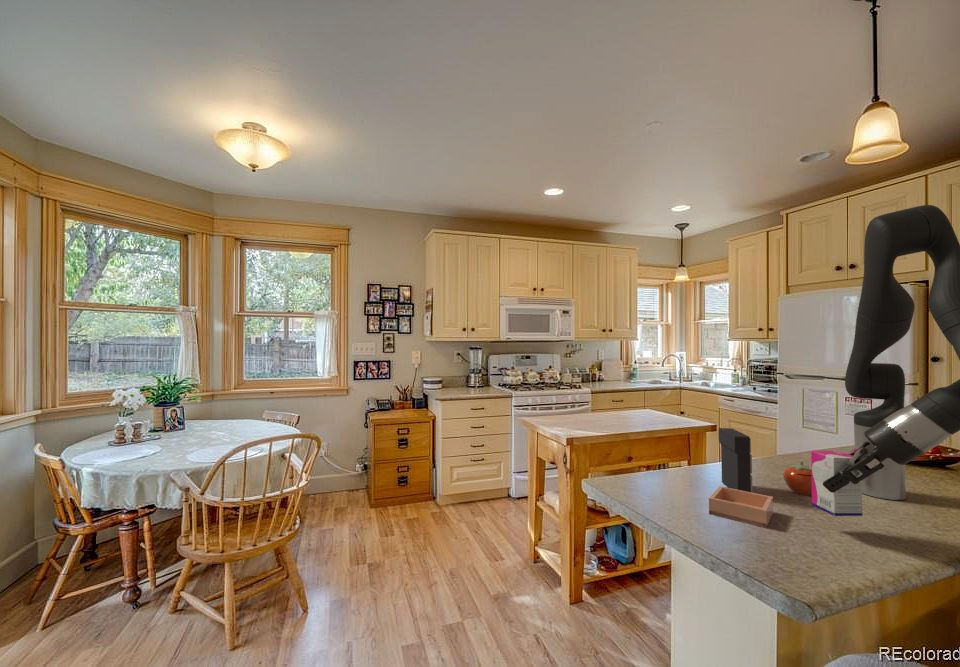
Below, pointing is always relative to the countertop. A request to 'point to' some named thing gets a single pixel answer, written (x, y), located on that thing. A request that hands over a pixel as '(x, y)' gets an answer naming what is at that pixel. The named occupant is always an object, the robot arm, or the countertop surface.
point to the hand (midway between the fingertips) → (827, 482)
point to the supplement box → (841, 500)
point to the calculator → (736, 459)
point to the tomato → (799, 478)
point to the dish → (741, 506)
